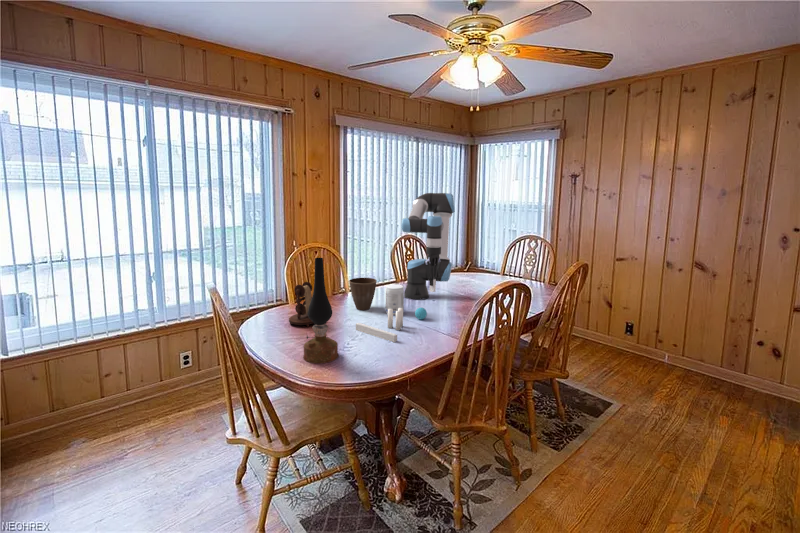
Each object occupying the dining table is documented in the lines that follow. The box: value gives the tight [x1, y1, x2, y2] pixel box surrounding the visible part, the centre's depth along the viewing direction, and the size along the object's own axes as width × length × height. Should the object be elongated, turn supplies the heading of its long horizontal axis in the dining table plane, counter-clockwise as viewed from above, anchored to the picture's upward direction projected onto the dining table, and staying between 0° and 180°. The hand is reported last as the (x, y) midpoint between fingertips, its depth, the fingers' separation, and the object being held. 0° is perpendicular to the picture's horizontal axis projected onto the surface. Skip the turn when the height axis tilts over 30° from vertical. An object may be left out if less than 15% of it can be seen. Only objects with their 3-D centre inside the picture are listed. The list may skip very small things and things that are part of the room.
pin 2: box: [395, 311, 402, 331], centre depth 196 cm, size 2×2×9 cm
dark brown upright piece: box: [288, 281, 314, 328], centre depth 203 cm, size 15×15×20 cm
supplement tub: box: [385, 284, 405, 316], centre depth 222 cm, size 10×10×15 cm
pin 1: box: [387, 309, 394, 329], centre depth 199 cm, size 2×2×9 cm
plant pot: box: [348, 277, 377, 311], centre depth 229 cm, size 15×15×16 cm
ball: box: [414, 307, 428, 320], centre depth 213 cm, size 6×6×6 cm
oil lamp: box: [302, 257, 339, 364], centre depth 163 cm, size 14×15×40 cm
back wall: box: [355, 322, 398, 343], centre depth 188 cm, size 2×24×3 cm, turn 49°
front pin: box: [398, 308, 404, 328], centre depth 200 cm, size 2×2×9 cm
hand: (432, 291), depth 218 cm, fingers closed
